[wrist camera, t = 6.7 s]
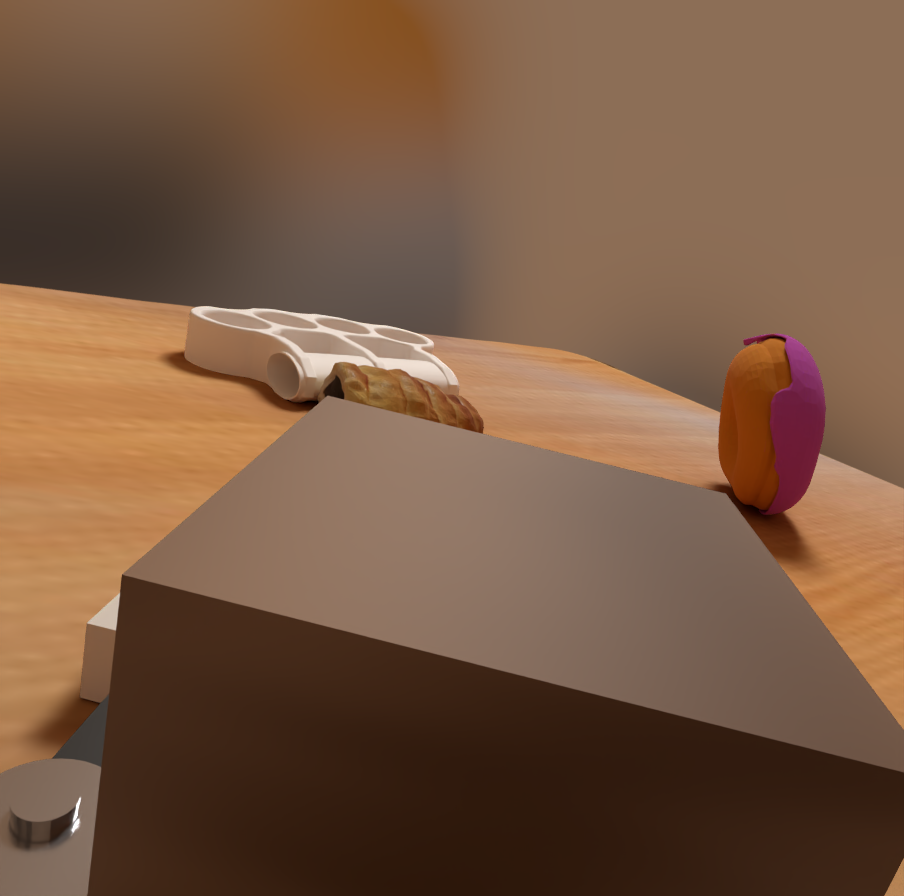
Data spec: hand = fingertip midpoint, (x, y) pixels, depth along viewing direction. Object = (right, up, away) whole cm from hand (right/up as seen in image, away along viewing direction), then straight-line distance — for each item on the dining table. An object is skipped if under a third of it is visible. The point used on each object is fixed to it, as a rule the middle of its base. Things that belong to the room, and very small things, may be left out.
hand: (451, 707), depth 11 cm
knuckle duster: (-9, +8, +42) cm, 43 cm away
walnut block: (-2, -6, -1) cm, 7 cm away
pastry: (-4, +4, +32) cm, 33 cm away
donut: (+17, 0, +35) cm, 39 cm away
